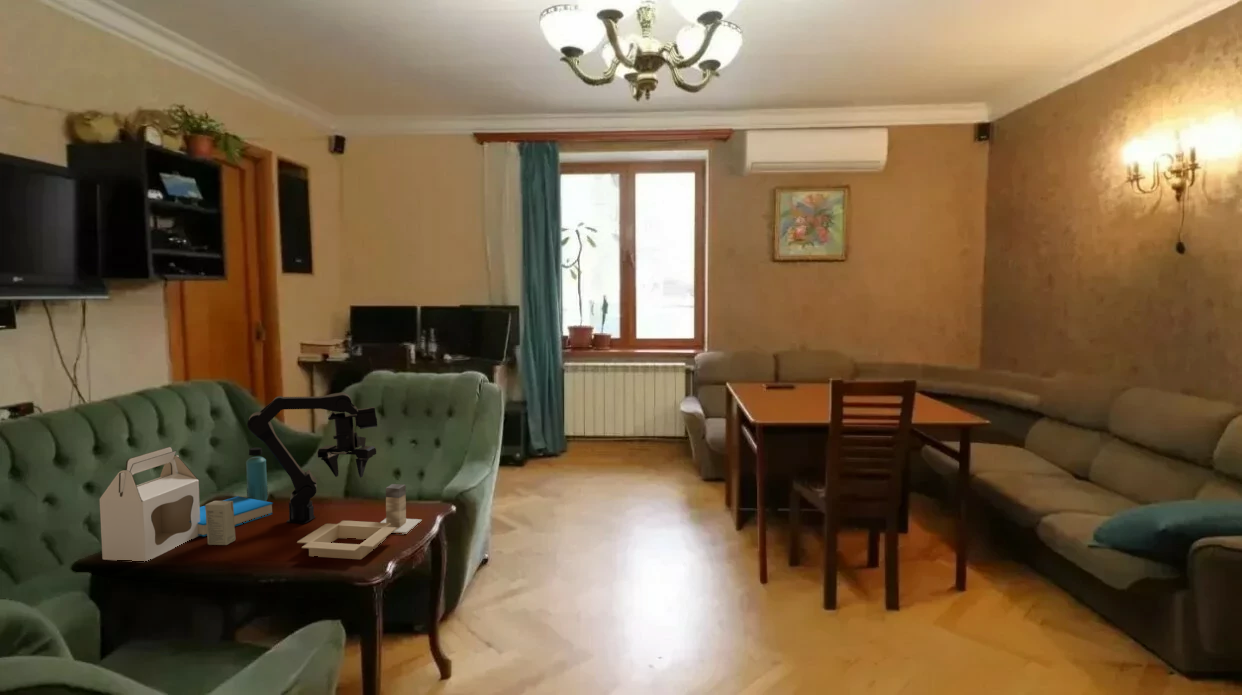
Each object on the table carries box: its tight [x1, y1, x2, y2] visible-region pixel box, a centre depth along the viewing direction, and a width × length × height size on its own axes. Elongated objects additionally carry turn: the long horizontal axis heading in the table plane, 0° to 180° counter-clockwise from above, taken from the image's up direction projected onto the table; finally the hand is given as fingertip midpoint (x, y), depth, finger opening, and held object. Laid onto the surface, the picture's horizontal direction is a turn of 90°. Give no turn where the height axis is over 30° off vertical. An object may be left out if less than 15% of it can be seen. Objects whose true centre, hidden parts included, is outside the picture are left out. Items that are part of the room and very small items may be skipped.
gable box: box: [99, 446, 201, 563], centre depth 205 cm, size 22×13×28 cm, turn 173°
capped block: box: [385, 483, 407, 527], centre depth 225 cm, size 4×4×12 cm
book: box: [189, 495, 274, 537], centre depth 229 cm, size 17×4×25 cm
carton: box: [296, 520, 397, 560], centre depth 208 cm, size 23×23×4 cm
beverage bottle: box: [245, 447, 269, 501], centre depth 246 cm, size 6×7×20 cm
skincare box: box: [204, 500, 236, 546], centre depth 210 cm, size 6×4×12 cm
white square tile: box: [379, 517, 423, 535], centre depth 226 cm, size 12×12×1 cm
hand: (349, 476), depth 236 cm, fingers open, 9 cm apart
